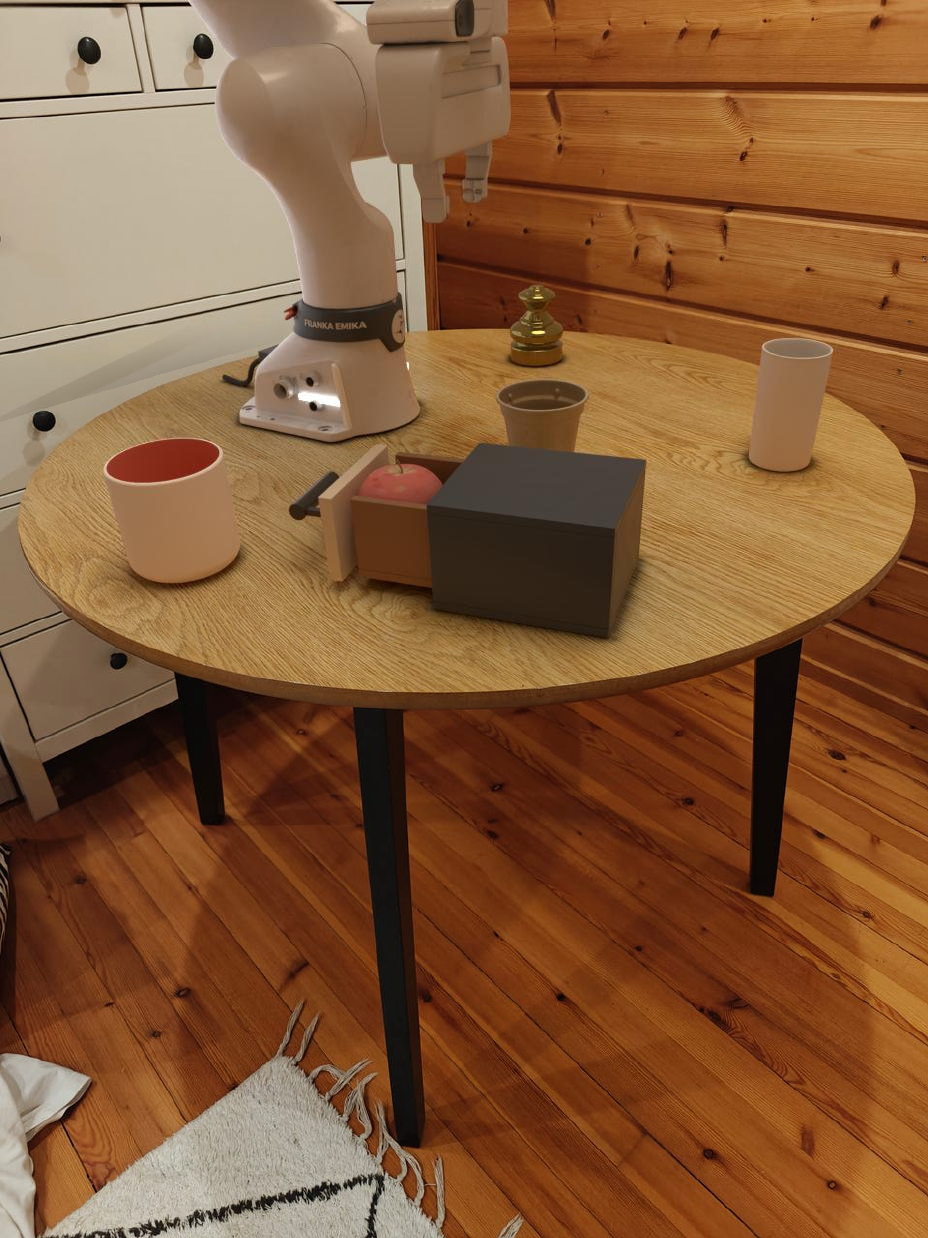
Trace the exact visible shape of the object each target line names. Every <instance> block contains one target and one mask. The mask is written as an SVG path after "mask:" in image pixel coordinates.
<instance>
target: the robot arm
mask: <svg viewBox="0 0 928 1238" xmlns="http://www.w3.org/2000/svg"><path fill="white" fill-rule="evenodd" d="M187 1H188V3H189V4H190V5H191V7H192V8H193V10H194V12H196V14H197V15H198V17H199V18H200V19H201V21H202V22H203V24H204V25H205V26H206V28H207V29H208V31H209V32H210V33H211V34H212V36H213V37H214V39H215V40H216V41H217V42H218V44H219V46H220V47H221V48H222V50H223V51H224V53H226V54H227V56H229V57H230V58H231V59H232V60H231V61H229V62H228V63H227V64H226V65H225V66H224V67H223V69H222V71H221V73H220V75H219V77H218V80H217V83H216V87H215V88H216V89H215V94H214V95H215V96H214V111H215V119H216V124H217V127H218V129H219V132H220V135H221V137H222V139H223V141H224V143H225V145H226V147H227V148H228V149H229V150H230V152H231V154H232V155H233V156H234V158H236V159H237V160H238V161H239V162H240V163H241V164H242V165H243V166H245V167H247V168H248V169H249V170H250V171H252V172H254V174H256V175H257V176H258V177H259V178H260V179H261V180H262V181H263V182H264V183H265V184H266V186H267V187H268V189H269V190H270V191H271V192H272V194H273V196H274V197H275V199H276V200H277V202H278V204H279V206H280V208H281V210H282V212H283V214H284V216H285V220H286V221H287V224H288V226H289V230H290V233H291V237H292V241H293V247H294V252H295V257H296V263H297V268H298V276H299V281H300V288H301V295H302V298H300V299H298V300H297V301H295V302H294V303H293V304H291V306H290V307H289V308H286V309H285V310H284V311H283V313H284V314H285V313H287V314H286V316H285V317H284V320H285V321H288V320H290V319H292V318H293V322H294V323H293V328H292V332H291V333H290V334H289V335H288V336H287V337H285V339H284V340H282V341H281V342H280V343H278V344H275V345H273V346H269V347H267V348H264V349H261V350H258V351H257V353H258V357H257V358H255V359H254V360H253V361H252V362H251V363H250V365H249V367H248V372H247V375H246V376H247V377H246V379H244V380H240V379H237V378H235V377H232V376H230V375H228V374H222V376H221V378H222V380H224V381H226V382H229V383H231V384H233V385H235V386H239V387H247V386H249V385H250V384H251V383H252V381H253V378H254V396H253V397H251V398H250V399H248V401H246V403H244V404H243V405H242V407H241V408H240V410H239V413H238V415H239V422H240V424H243V425H247V426H251V427H256V428H261V429H266V430H269V431H274V432H275V431H276V432H279V433H283V434H290V435H294V436H299V437H303V438H309V439H311V440H312V439H313V440H317V441H322V442H326V443H327V442H328V443H334V442H335V443H336V442H339V441H343V440H344V441H345V440H347V439H351V438H353V437H358V436H362V435H363V436H364V435H371V434H376V433H383V432H386V431H390V430H394V429H397V428H399V427H402V426H404V425H407V424H409V423H410V422H412V421H413V420H415V419H416V418H417V417H418V416H419V415H420V413H421V407H420V404H419V401H418V398H417V396H416V393H415V389H414V386H413V383H412V378H411V376H410V375H411V374H410V371H409V368H410V367H409V362H408V361H407V356H406V350H405V343H406V318H405V313H404V304H403V303H404V302H403V295H402V294H401V292H399V286H398V272H397V260H396V249H395V234H394V229H393V226H392V223H391V222H390V221H391V220H389V218H388V217H387V216H386V214H385V213H384V212H382V211H381V210H380V209H379V208H378V207H376V206H374V205H372V204H371V203H369V202H367V201H365V200H364V198H363V196H362V195H361V193H360V192H359V189H358V186H357V184H356V181H355V178H354V174H353V171H352V170H353V169H352V163H356V162H360V161H369V160H373V159H380V158H386V157H388V159H389V161H390V162H391V163H392V164H394V165H412V176H413V180H414V182H415V185H416V187H417V190H418V194H419V196H420V199H421V206H422V209H421V210H422V218H423V220H424V222H426V223H427V224H442V223H443V222H445V221H447V220H448V219H449V218H450V216H451V210H450V209H451V208H450V205H451V200H450V195H447V193H446V188H445V182H444V177H443V175H445V173H446V164H445V162H446V160H445V159H447V158H449V157H453V156H455V155H457V154H460V153H464V156H465V157H466V163H465V178H464V179H462V191H463V193H462V198H463V200H464V202H466V203H468V204H469V203H474V204H475V203H476V204H477V203H478V204H479V203H481V202H483V201H485V200H486V199H487V198H488V177H489V174H490V170H491V169H490V167H491V163H492V159H493V141H495V140H499V139H500V138H503V137H506V136H507V135H508V134H509V131H510V125H511V119H512V117H511V116H512V109H511V85H510V83H511V82H510V71H509V70H510V69H509V68H510V67H509V57H508V51H507V50H508V49H507V45H506V43H505V40H504V39H503V38H502V37H506V36H508V35H509V0H374V2H372V4H370V6H369V7H368V8H367V10H366V14H365V24H366V25H365V24H364V23H363V22H361V21H360V20H358V19H356V17H355V16H353V15H351V14H350V13H349V12H348V11H346V10H345V9H344V8H343V7H342V6H340V5H338V4H337V3H336V2H335V1H334V0H187ZM255 369H256V371H255Z"/></svg>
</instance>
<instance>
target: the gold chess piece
mask: <svg viewBox="0 0 928 1238" xmlns="http://www.w3.org/2000/svg"><path fill="white" fill-rule="evenodd" d="M555 298H556V293H555V292H554V291H552V290H551V289H549V288H547V287H545V286H544V285H542V284H532V285H530V286H529V287H528V288H525V289H523V290H522V291H520V292H519V293H518V299H519V300H520V301H521V302H522V303H523V304H524V305H525V307H526V311H525V313H524V314H523V315H522V316H520V318H519V320H518V321H515V323H513V324H512V325H511V326H510V329H509V336H510V338H511V340H512V341H511V342H510V343H509V347H510V360H511V361H512V362H513V363H516V364H517V365H520V366H527V367H545V366H551V365H553V364H556V363H559V362H560V361H561V360H562V359H563V346H564V343H563V341H562V340H560V339H561V338H562V337H563V335H564V327H563V325H562V324H561V323H559V321H556V320H554V317H553V316H551V315H550V313H549V312H548V310H547V307H548V305H549V304H550V303H551V302H552V301H553V300H554V299H555Z"/></svg>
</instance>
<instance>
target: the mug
mask: <svg viewBox="0 0 928 1238" xmlns="http://www.w3.org/2000/svg"><path fill="white" fill-rule="evenodd" d="M833 353H834V348H833V346H831V345H829V344H827V343H826V342H822V341H819V340H815V339H811V338H810V339H809V338H801V337H787V338H786V337H783V338H775V339H770V340H768V341H766V342H764V343H763V344H762V345H761V354H760V360H759V368H758V375H757V383H756V392H755V401H754V410H753V418H752V425H751V426H752V427H751V435H750V443H749V453H748V459H749V461H750V462H751V463H752V464H753V465H754V466H756V467H758V468H761V469H764V470H767V471H773V472H785V473H786V472H795V471H800V470H803V469H805V468H807V467H808V466H809V465H810V463H811V457H812V453H813V450H814V449H813V448H814V444H815V441H816V437H817V431H818V425H819V421H820V416H821V413H822V407H823V404H824V398H825V394H826V389H827V384H828V380H829V375H830V371H831V370H830V369H831V364H832V357H833Z"/></svg>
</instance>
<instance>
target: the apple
mask: <svg viewBox="0 0 928 1238" xmlns="http://www.w3.org/2000/svg"><path fill="white" fill-rule="evenodd" d="M396 461H397V463H398V464H396V463H395V464H390V465H389V466H385V467H382V468H379V469H377V470H375V471H373V472H372V473H371V474H370V475H369V476H368V477H367V478H366V479H365V480H364V482H363V483H362V485H361V487H360V489H359V493H358V496H362V497H370V498H378V499H386V500H393V501H401V502H409V503H417V504H425V505H427V503H428V502H429V501H430V500H431V499H432V497H433V496H434V495H435V494H436V493H437V492H438V490H439V489H440V488H441V487H442V486H443V485H442V483H441V481H440V480H439V479H438V478H437V476H436V475H435V474H433V473H432V472H431V471H429V470H428V469H426V468H424V467H421V466H419V465H413V464H400V462H399V460H396V459H395V462H396Z"/></svg>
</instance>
